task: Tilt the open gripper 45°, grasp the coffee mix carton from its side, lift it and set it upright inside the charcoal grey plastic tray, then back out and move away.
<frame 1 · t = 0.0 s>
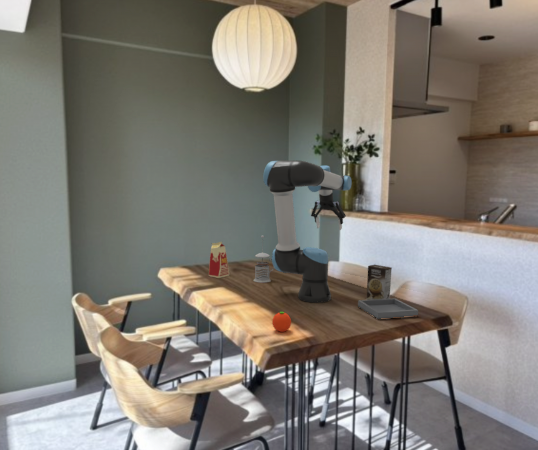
hand: (329, 228, 248), 28 cm above the table, tool tilted 20°, fingers open, 13 cm apart
coffee box: (378, 301, 200), on the table
tray: (386, 312, 183), on the table
milk carton: (218, 276, 247), on the table
french press: (263, 280, 237), on the table
clementine: (281, 331, 158), on the table
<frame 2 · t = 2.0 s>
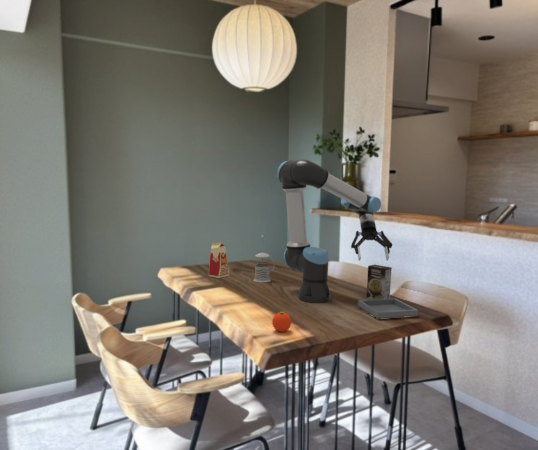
hand: (373, 259, 210), 17 cm above the table, tool tilted 45°, fingers open, 13 cm apart
nothing on the table moved.
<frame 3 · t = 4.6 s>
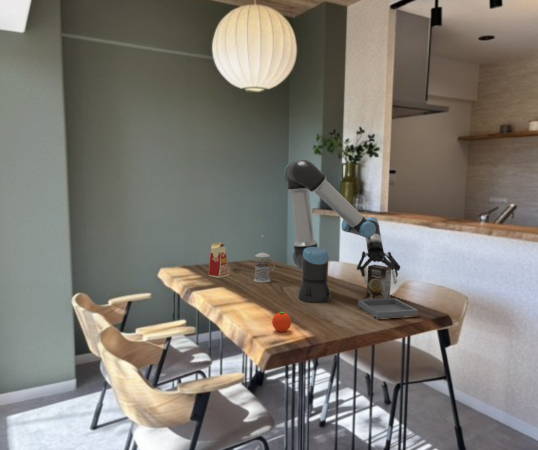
hand: (380, 282, 200), 9 cm above the table, tool tilted 45°, fingers open, 13 cm apart
nothing on the table moved.
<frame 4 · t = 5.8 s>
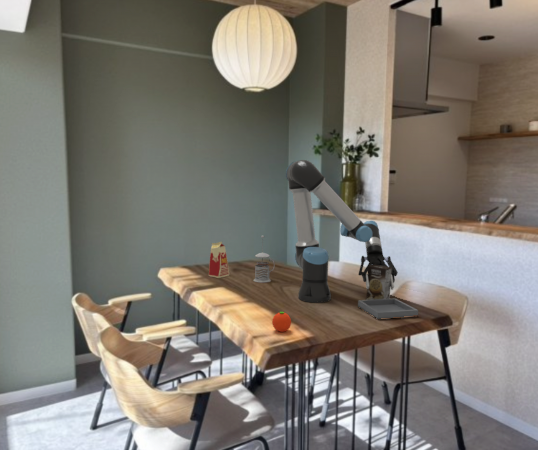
hand: (380, 287, 197), 7 cm above the table, tool tilted 45°, fingers closed on coffee box, 10 cm apart
coffee box: (378, 301, 200), on the table, touching gripper
everything else where it was.
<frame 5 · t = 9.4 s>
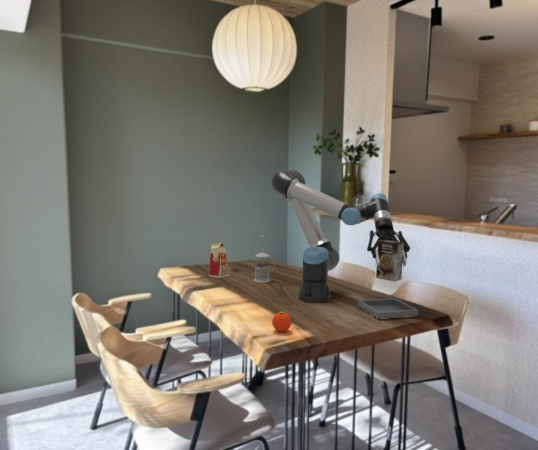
hand: (391, 264, 178), 21 cm above the table, tool tilted 45°, fingers closed on coffee box, 10 cm apart
coffee box: (388, 279, 182), point 14 cm above the table, touching gripper
everything else where it was.
when the fingers open (9 cm above the table, at t = 12.9 s): coffee box drops 1 cm, resting on tray.
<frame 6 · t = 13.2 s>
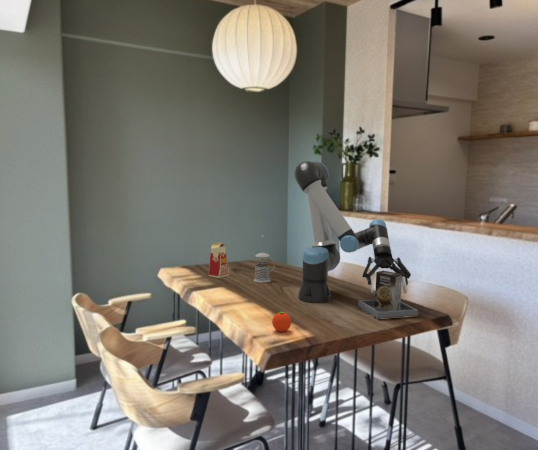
hand: (389, 291, 180), 10 cm above the table, tool tilted 45°, fingers open, 13 cm apart
coffee box: (387, 310, 183), point 1 cm above the table, touching tray
everything else where it was.
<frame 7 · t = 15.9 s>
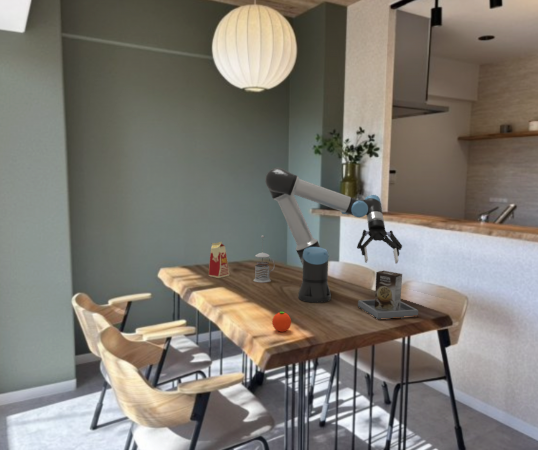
hand: (381, 261, 193), 19 cm above the table, tool tilted 45°, fingers open, 13 cm apart
nothing on the table moved.
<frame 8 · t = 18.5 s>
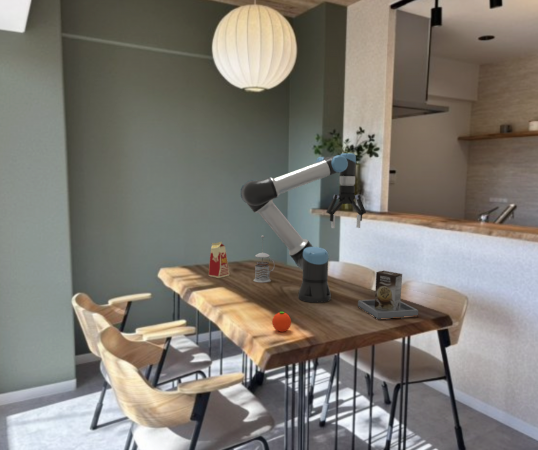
hand: (345, 227, 216), 32 cm above the table, tool pointing down, fingers open, 13 cm apart
nothing on the table moved.
at the end: coffee box inside the target area on the tray (0.2 cm from its centre), point 0.6 cm above the tray's base; coffee box tilted 0°; the gripper is holding nothing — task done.
